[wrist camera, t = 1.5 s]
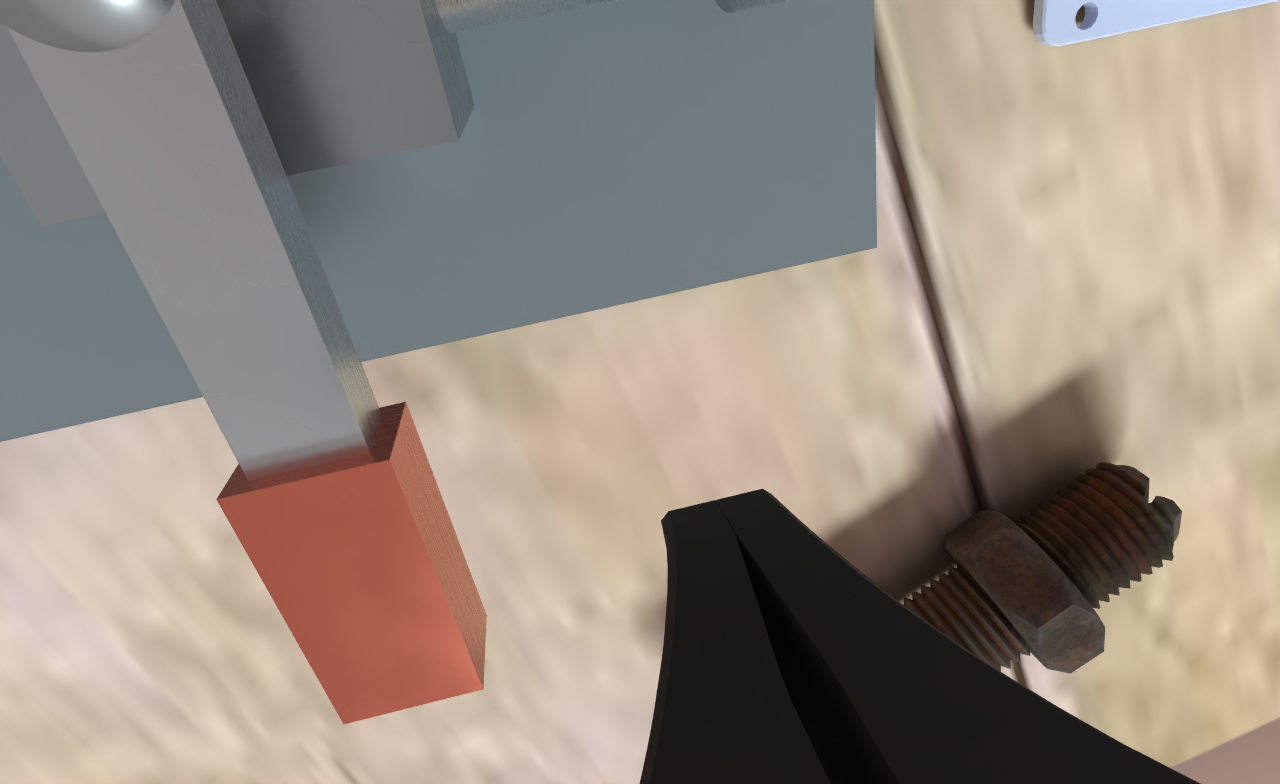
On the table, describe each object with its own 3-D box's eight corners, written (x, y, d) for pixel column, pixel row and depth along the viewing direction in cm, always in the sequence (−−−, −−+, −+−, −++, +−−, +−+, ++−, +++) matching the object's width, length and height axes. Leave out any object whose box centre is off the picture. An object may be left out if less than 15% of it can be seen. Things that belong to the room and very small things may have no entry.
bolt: (1067, 447, 25) (721, 694, 27) (1077, 396, 20) (666, 693, 22) (1221, 593, 21) (814, 860, 23) (1271, 566, 17) (771, 894, 19)
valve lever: (-54, -176, 7) (-193, -226, 6) (173, -215, 7) (90, -274, 6) (362, 645, 13) (344, 724, 11) (486, 615, 13) (482, 689, 11)
